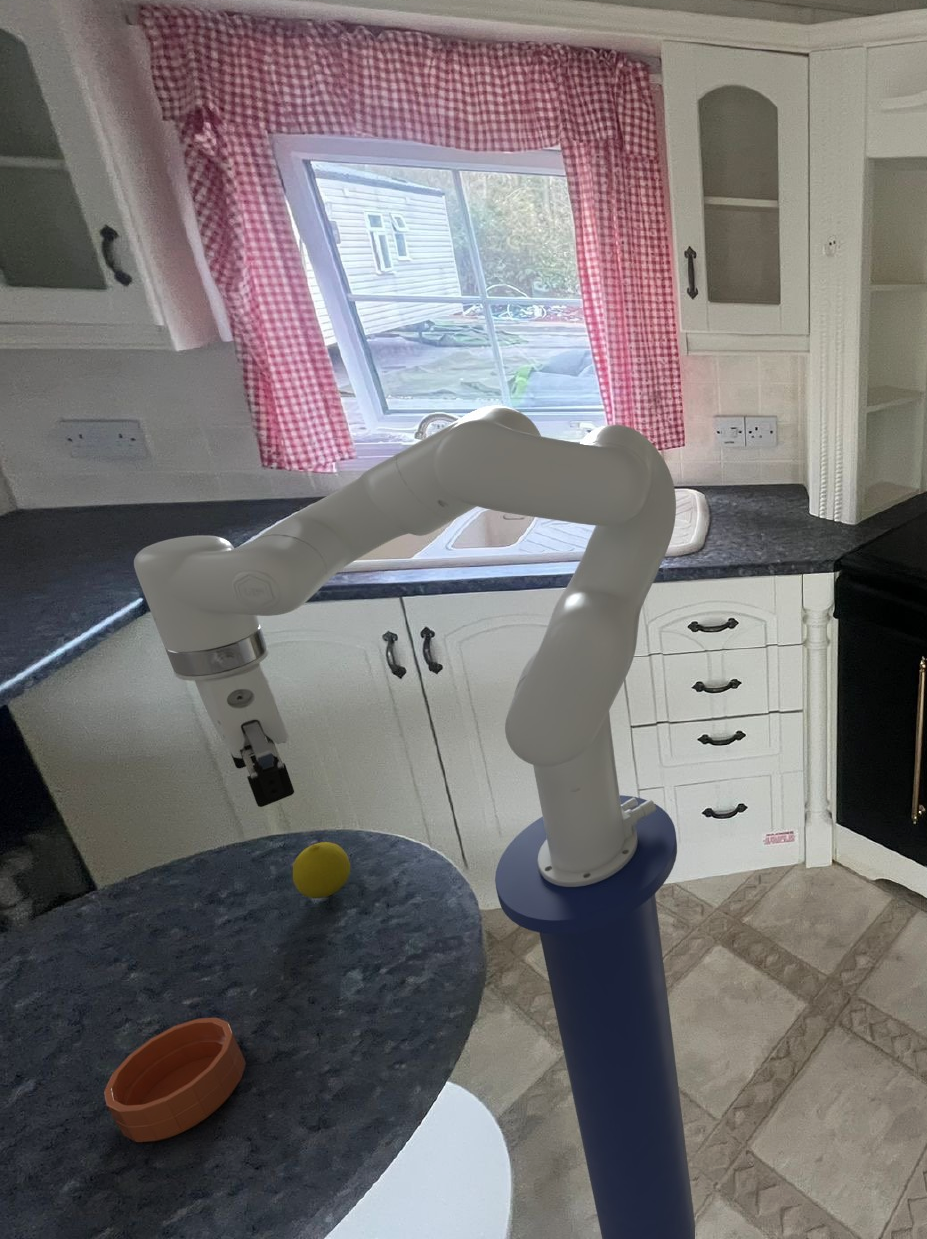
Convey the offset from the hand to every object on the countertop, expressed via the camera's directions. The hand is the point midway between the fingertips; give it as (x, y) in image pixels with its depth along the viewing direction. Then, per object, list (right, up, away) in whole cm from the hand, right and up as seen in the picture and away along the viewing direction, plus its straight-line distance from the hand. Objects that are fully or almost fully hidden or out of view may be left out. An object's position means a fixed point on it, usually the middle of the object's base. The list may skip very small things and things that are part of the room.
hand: (264, 780), depth 84 cm
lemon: (+1, -17, +9) cm, 20 cm away
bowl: (+5, -26, -14) cm, 30 cm away
